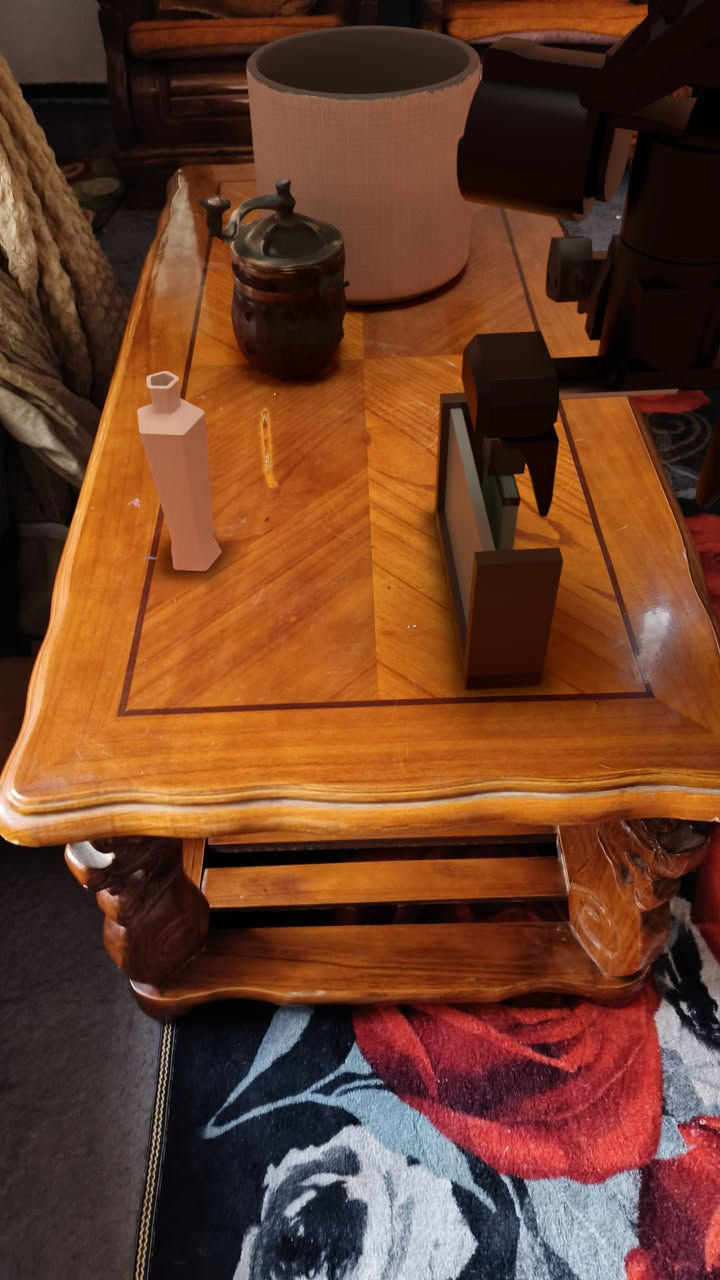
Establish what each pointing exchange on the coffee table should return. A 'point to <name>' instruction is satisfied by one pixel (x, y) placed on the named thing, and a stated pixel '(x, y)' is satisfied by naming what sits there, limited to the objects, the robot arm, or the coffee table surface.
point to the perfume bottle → (180, 471)
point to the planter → (370, 148)
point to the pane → (501, 491)
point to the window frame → (488, 568)
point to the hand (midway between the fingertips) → (621, 507)
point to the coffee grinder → (283, 283)
